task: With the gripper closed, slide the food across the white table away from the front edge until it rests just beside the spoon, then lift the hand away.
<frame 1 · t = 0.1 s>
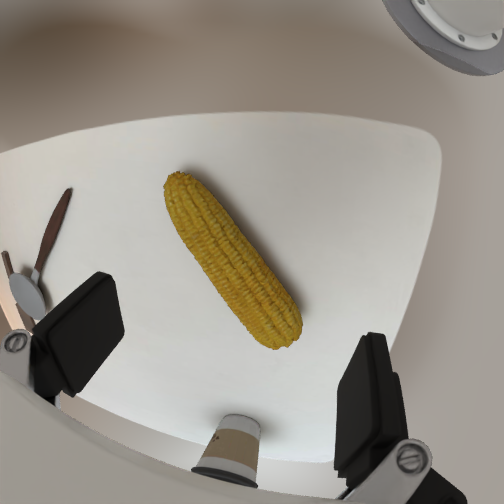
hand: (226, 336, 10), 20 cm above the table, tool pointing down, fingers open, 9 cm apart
food: (240, 253, 31), on the table
coffee cup: (241, 423, 47), on the table
spatula: (19, 295, 48), on the table
spoon: (45, 257, 40), on the table
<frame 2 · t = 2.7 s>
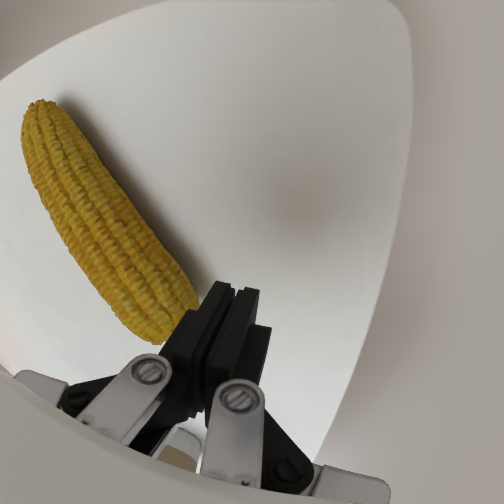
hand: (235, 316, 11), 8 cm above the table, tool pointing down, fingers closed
food: (116, 202, 20), on the table
coffee cup: (179, 435, 36), on the table
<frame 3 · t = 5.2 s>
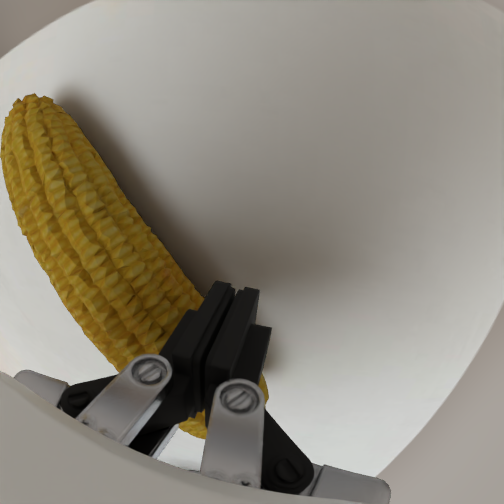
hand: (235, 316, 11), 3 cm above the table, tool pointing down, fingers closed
food: (145, 250, 15), on the table, touching gripper
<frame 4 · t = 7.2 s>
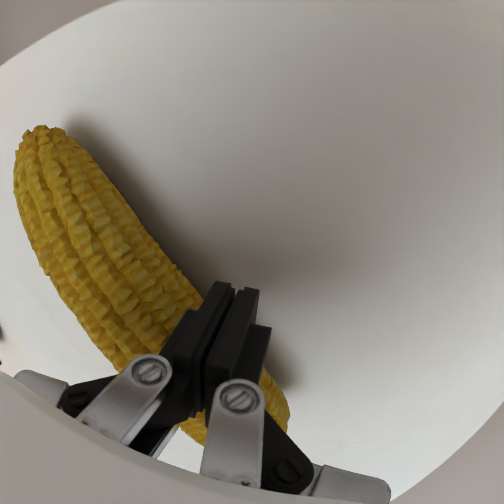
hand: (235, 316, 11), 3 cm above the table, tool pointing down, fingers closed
food: (168, 282, 15), on the table, touching gripper
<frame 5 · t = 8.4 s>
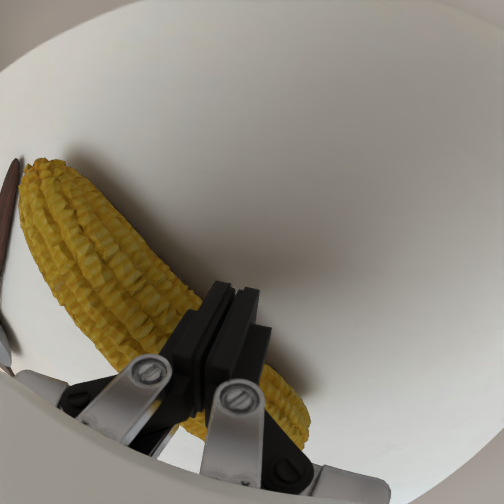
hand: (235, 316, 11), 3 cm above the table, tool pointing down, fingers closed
food: (181, 301, 16), on the table, touching gripper
spoon: (0, 281, 21), on the table
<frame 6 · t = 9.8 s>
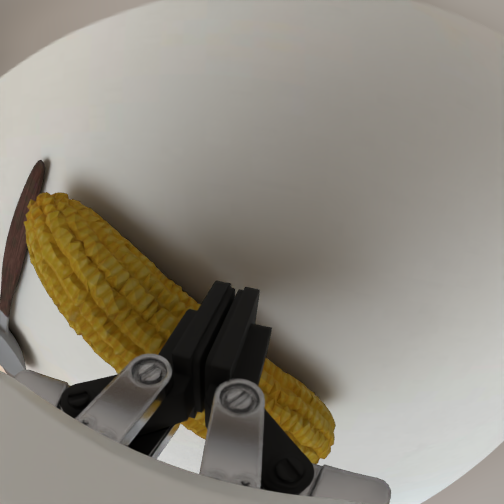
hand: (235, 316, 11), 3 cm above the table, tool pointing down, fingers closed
food: (197, 319, 16), on the table, touching gripper
spoon: (14, 292, 21), on the table
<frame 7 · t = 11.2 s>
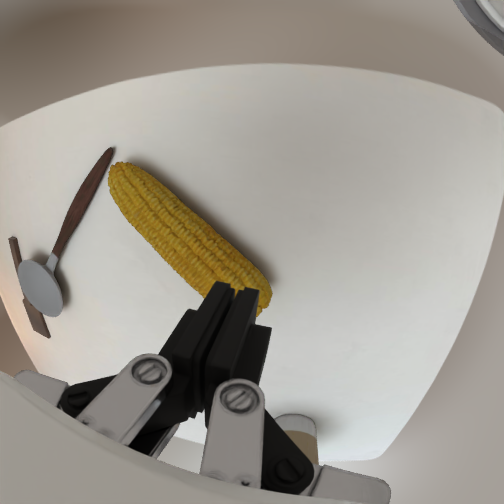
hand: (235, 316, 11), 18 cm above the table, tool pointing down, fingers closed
food: (194, 230, 30), on the table
coffee cup: (294, 424, 42), on the table
spatula: (27, 289, 42), on the table
spoon: (67, 239, 35), on the table
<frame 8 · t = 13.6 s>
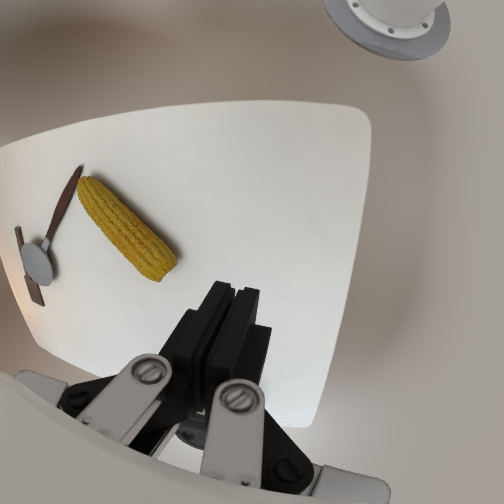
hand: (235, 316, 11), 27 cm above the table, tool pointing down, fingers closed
food: (131, 220, 43), on the table
coffee cup: (222, 379, 54), on the table
spatula: (28, 267, 55), on the table
spoon: (56, 227, 48), on the table
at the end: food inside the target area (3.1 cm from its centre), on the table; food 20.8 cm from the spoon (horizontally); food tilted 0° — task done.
